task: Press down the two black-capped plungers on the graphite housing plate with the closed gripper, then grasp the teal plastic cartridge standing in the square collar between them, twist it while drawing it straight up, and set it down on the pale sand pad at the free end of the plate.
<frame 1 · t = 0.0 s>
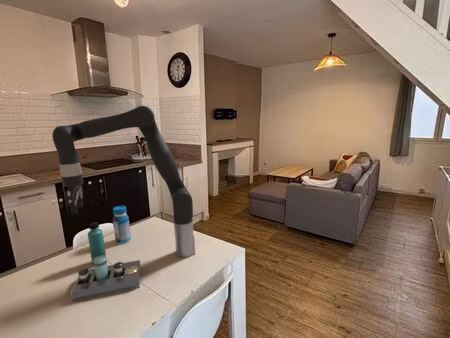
hand: (77, 210, 103), 29 cm above the table, fingers open, 8 cm apart
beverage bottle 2: (123, 241, 136), on the table
beverage bottle: (99, 262, 116), on the table
plunger b: (84, 276, 97), point 5 cm above the table, slide at 0.0 cm
cartridge: (103, 284, 99), resting in housing
plunger a: (118, 269, 100), point 5 cm above the table, slide at 0.0 cm
housing: (110, 283, 100), on the table
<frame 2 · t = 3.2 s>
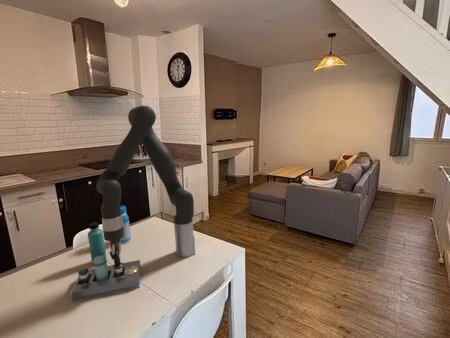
hand: (117, 265, 100), 8 cm above the table, fingers closed
plunger a: (118, 270, 100), point 5 cm above the table, slide at 0.2 cm, touching gripper
everything else where it was.
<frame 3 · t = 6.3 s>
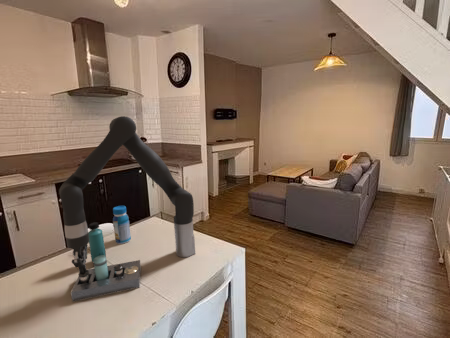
hand: (83, 272, 96), 7 cm above the table, fingers closed
plunger b: (84, 278, 97), point 5 cm above the table, slide at 0.9 cm, touching gripper
plunger a: (119, 272, 100), point 4 cm above the table, slide at 1.1 cm
everything else where it was.
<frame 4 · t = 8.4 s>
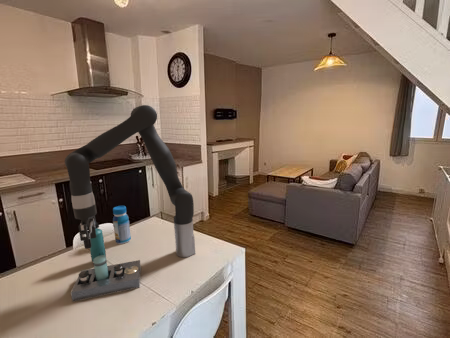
hand: (91, 242, 95), 19 cm above the table, fingers open, 8 cm apart
plunger b: (84, 278, 97), point 4 cm above the table, slide at 1.1 cm
everything else where it was.
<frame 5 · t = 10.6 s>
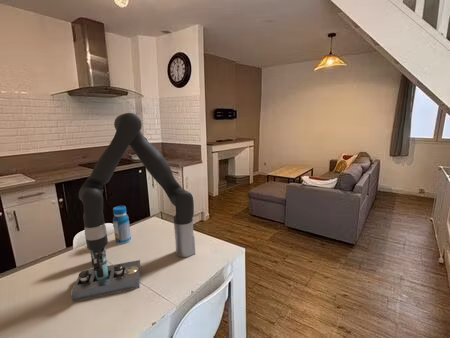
hand: (101, 272, 98), 5 cm above the table, fingers closed on cartridge, 4 cm apart
cartridge: (103, 284, 99), resting in housing, touching gripper
everything else where it was.
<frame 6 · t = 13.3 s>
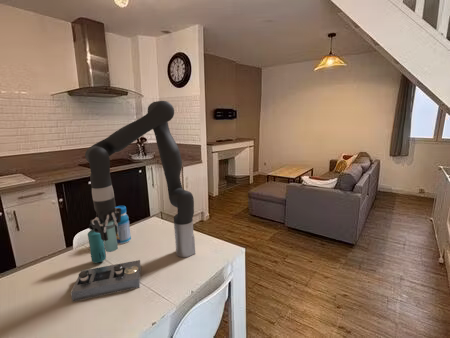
hand: (110, 237, 97), 21 cm above the table, fingers closed on cartridge, 4 cm apart
cartridge: (111, 249, 98), point 15 cm above the table, touching gripper
everything else where it was.
when the fingers open (11 cm above the table, at t = 16.1 s): cartridge drops 1 cm, resting on housing.
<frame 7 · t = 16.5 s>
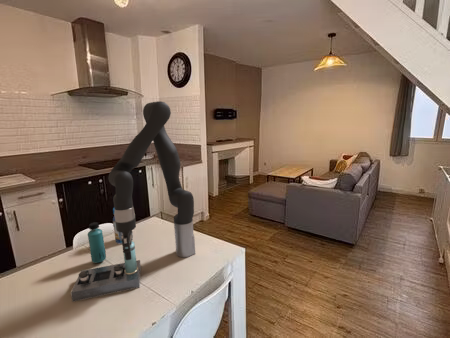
hand: (129, 254, 100), 12 cm above the table, fingers open, 8 cm apart
cartridge: (131, 269, 102), point 4 cm above the table, touching housing
everything else where it was.
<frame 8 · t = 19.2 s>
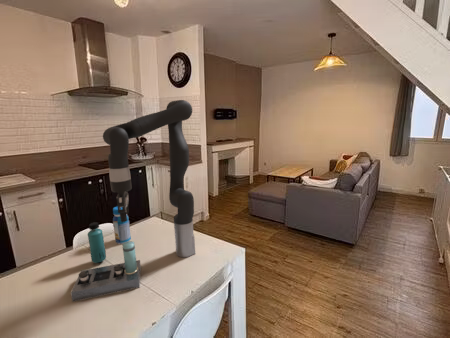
hand: (125, 217, 97), 28 cm above the table, fingers open, 8 cm apart
nothing on the table moved.
at the end: plunger a slide at 1.1 cm; plunger b slide at 1.1 cm; cartridge inside the target area (0.1 cm from its centre), point 4.2 cm above the table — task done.
